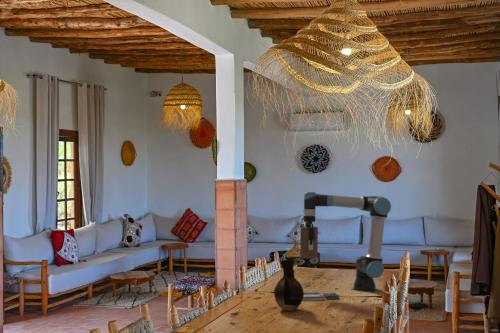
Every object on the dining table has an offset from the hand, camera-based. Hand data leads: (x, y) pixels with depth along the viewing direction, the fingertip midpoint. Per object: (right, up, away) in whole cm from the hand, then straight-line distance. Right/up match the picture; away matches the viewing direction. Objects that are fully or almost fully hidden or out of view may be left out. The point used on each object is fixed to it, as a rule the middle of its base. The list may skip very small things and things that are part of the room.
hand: (309, 248), depth 453 cm
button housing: (+13, -31, -9) cm, 35 cm away
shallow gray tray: (0, -31, -9) cm, 32 cm away
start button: (+13, -30, -9) cm, 34 cm away
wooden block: (0, -6, 0) cm, 6 cm away
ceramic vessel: (-16, -31, -45) cm, 57 cm away
